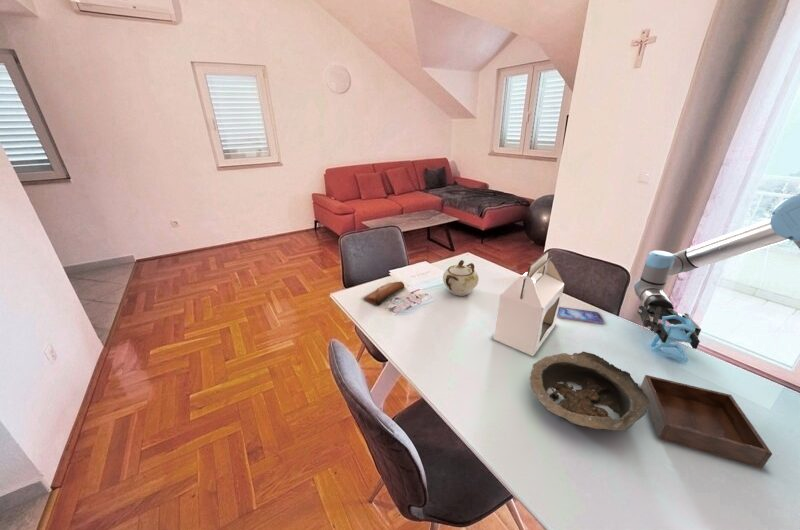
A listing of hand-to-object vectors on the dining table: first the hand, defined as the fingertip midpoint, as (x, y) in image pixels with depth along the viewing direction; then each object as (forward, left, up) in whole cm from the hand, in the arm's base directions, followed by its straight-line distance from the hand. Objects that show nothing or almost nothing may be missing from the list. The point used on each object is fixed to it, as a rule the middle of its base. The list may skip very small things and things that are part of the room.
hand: (680, 341), depth 90 cm
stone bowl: (+27, +28, -9) cm, 40 cm away
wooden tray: (+2, +23, -9) cm, 25 cm away
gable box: (+41, 0, -9) cm, 42 cm away
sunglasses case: (+98, -6, -9) cm, 98 cm away
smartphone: (+23, -19, -9) cm, 31 cm away
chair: (0, -5, -7) cm, 9 cm away
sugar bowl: (+69, -21, -9) cm, 73 cm away
